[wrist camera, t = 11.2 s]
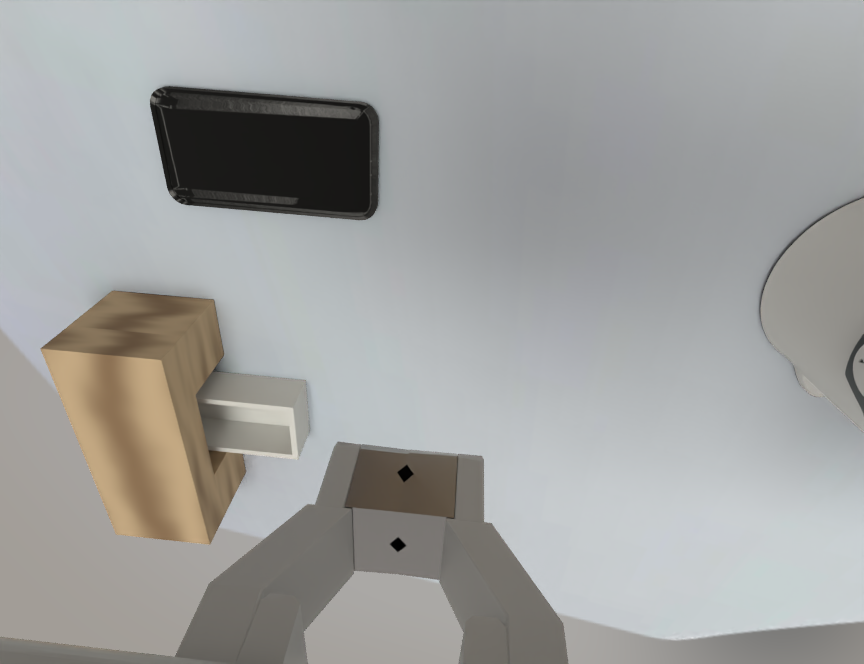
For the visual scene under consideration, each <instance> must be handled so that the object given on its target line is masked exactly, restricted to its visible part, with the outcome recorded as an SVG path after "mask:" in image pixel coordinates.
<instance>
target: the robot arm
mask: <svg viewBox="0 0 864 664" xmlns="http://www.w3.org/2000/svg"><path fill="white" fill-rule="evenodd" d="M761 322H762V326H763V329H764V332H765V334H766V336H767V338H768V340H769V341H770V343H771V344H772V345H773V347H774V348H775V349H776V350H777V351H778V352H780V353H781V354H782V355H783V356H784V357H786V358H787V359H788V360H789V361H790V362H791V363H792V364H793V366H794V368H795V372H796V376H797V379H798V381H799V383H800V385H801V386H802V388H803V389H805V390H806V391H807V392H808V393H809V394H810V395H812V396H815V397H826V398H827V399H828V400H829V401H830V402H831V403H832V404H833V405H834V406H835V407H836V408H838V409H839V410H840V411H841V412H842V413H843V414H844V415H845V416H846V417H847V418H848V419H849V420H850V421H851V422H853V423H854V424H855V425H856V426H857V427H858V428H859V429H860V430H861V431H862V432H863V433H864V198H862V199H860V200H857V201H855V202H853V203H850V204H848V205H846V206H844V207H842V208H840V209H838V210H836V211H835V212H833V213H831V214H829V215H828V216H826V217H825V218H823V219H822V220H820V221H819V222H817V223H816V224H814V225H813V226H812V227H811V228H809V229H808V230H807V231H806V232H804V233H803V234H802V235H801V236H800V237H799V238H798V239H797V240H796V241H795V242H794V243H793V244H792V245H791V246H790V247H789V248H788V249H787V251H786V252H785V253H784V254H783V255H782V257H781V258H780V259H779V261H778V262H777V264H776V265H775V267H774V269H773V270H772V272H771V274H770V276H769V278H768V280H767V283H766V285H765V288H764V292H763V295H762V300H761ZM354 571H366V572H378V573H390V574H400V575H407V576H415V577H422V578H430V579H437V580H440V584H441V586H442V588H443V590H444V592H445V594H446V597H447V599H448V601H449V603H450V605H451V607H452V609H453V611H454V613H455V615H456V617H457V620H458V622H459V624H460V626H461V628H462V630H463V632H464V634H463V640H462V646H461V652H460V658H459V664H568V657H567V649H566V641H565V633H564V626H563V623H562V621H561V620H560V618H559V617H558V616H557V614H556V613H555V611H554V610H553V609H552V607H551V606H550V604H549V603H548V602H547V600H546V599H545V597H544V596H543V595H542V593H541V592H540V590H539V589H538V588H537V586H536V585H535V583H534V582H533V581H532V579H531V578H530V576H529V575H528V574H527V572H526V571H525V569H524V568H523V567H522V565H521V564H520V562H519V561H518V560H517V558H516V557H515V555H514V554H513V553H512V551H511V550H510V548H509V547H508V546H507V544H506V543H505V541H504V540H503V539H502V537H501V536H500V534H499V533H498V532H497V530H496V529H495V527H494V526H493V525H492V523H486V522H484V459H483V457H482V456H476V455H465V454H458V456H457V454H453V453H442V452H431V451H420V450H405V449H397V448H389V447H381V446H373V445H365V444H362V445H361V444H353V443H345V442H337V444H336V445H335V446H334V449H333V452H332V455H331V458H330V461H329V464H328V467H327V470H326V473H325V476H324V479H323V482H322V485H321V488H320V491H319V494H318V497H317V500H316V503H315V505H312V504H307V505H306V506H305V507H304V508H302V509H301V510H300V511H299V512H297V513H296V514H295V515H294V516H292V517H291V518H290V519H289V520H287V521H286V522H285V523H284V524H282V525H281V526H280V527H279V528H278V529H276V530H275V531H274V532H273V533H271V534H270V535H269V536H268V537H266V538H265V539H264V540H263V541H261V542H260V543H259V544H258V545H256V546H255V547H254V548H253V549H251V550H250V551H249V552H248V553H247V554H245V555H244V556H243V557H242V558H240V559H239V560H238V561H237V562H235V563H234V564H233V565H232V566H230V567H229V568H228V569H227V570H225V571H224V572H223V573H222V574H220V575H219V576H218V577H217V578H216V579H214V580H213V581H212V582H210V584H209V585H208V587H207V589H206V591H205V593H204V596H203V598H202V600H201V602H200V604H199V606H198V608H197V611H196V613H195V615H194V617H193V619H192V621H191V623H190V625H189V627H188V630H187V632H186V634H185V636H184V638H183V640H182V642H181V645H180V647H179V649H178V651H177V653H176V655H175V657H172V656H163V655H154V654H145V653H136V652H127V651H119V650H110V649H102V648H101V649H100V648H93V647H85V646H76V645H67V644H58V643H50V642H40V641H32V640H24V639H14V638H5V637H0V664H308V662H307V654H306V647H305V638H304V631H305V629H307V627H308V626H309V625H310V624H311V623H312V622H313V620H314V619H315V618H316V617H317V616H318V614H319V613H320V612H321V611H322V610H323V609H324V608H325V607H326V605H327V604H328V603H329V602H330V601H331V600H332V598H333V597H334V596H335V595H336V594H337V592H338V591H339V590H340V589H341V588H342V586H343V585H344V584H345V583H346V582H347V581H348V580H349V579H350V577H351V576H352V575H353V574H354Z"/></svg>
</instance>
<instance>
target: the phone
mask: <svg viewBox="0 0 864 664" xmlns="http://www.w3.org/2000/svg"><path fill="white" fill-rule="evenodd" d="M150 107H151V112H152V116H153V121H154V126H155V131H156V136H157V140H158V145H159V150H160V155H161V160H162V164H163V169H164V174H165V179H166V184H167V188H168V191H169V193H170V195H171V196H172V197H173V198H174V199H175V200H176V201H177V202H179V203H181V204H185V205H194V206H205V207H217V208H228V209H239V210H251V211H262V212H273V213H285V214H296V215H307V216H319V217H330V218H342V219H353V220H366V219H368V218H370V217H371V216H372V215H373V214H374V213H375V211H376V209H377V206H378V196H377V195H378V152H379V121H378V115H377V113H376V111H375V110H374V109H373V107H372V106H370V105H369V104H367V103H364V102H357V101H345V100H332V99H320V98H307V97H295V96H283V95H270V94H258V93H245V92H233V91H221V90H208V89H196V88H183V87H171V86H169V87H163V88H160V89H157V90H156V91H154V92H153V94H152V95H151V98H150Z"/></svg>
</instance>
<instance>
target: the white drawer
mask: <svg viewBox="0 0 864 664" xmlns="http://www.w3.org/2000/svg"><path fill="white" fill-rule="evenodd" d="M196 399H197V403H198V408H199V412H200V416H201V421H202V425H203V429H204V433H205V438H206V442H207V446H208V450H212V451H221V452H231V453H240V454H250V455H259V456H269V457H278V458H288V459H297V460H298V459H299V457H300V454H301V452H302V449H303V447H304V444H305V442H306V439H307V437H308V434H309V432H310V426H309V414H308V402H307V390H306V380H297V379H287V378H277V377H266V376H256V375H246V374H236V373H226V372H216V371H212V373H211V374H210V375H209V377H208V378H207V380H206V381H205V383H204V384H203V385H202V387H201V388H200V390H199V391H198V392H197V394H196Z"/></svg>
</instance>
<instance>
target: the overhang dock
mask: <svg viewBox="0 0 864 664" xmlns="http://www.w3.org/2000/svg"><path fill="white" fill-rule="evenodd" d="M41 351H42V354H43V356H44V358H45V361H46V363H47V366H48V368H49V371H50V373H51V376H52V378H53V381H54V383H55V385H56V388H57V390H58V393H59V395H60V398H61V400H62V403H63V405H64V407H65V410H66V412H67V415H68V417H69V420H70V422H71V425H72V427H73V429H74V432H75V434H76V437H77V439H78V442H79V444H80V447H81V449H82V451H83V454H84V457H85V459H86V461H87V464H88V466H89V469H90V471H91V474H92V476H93V479H94V481H95V484H96V486H97V489H98V491H99V493H100V496H101V498H102V501H103V503H104V506H105V508H106V510H107V513H108V516H109V518H110V520H111V523H112V525H113V528H114V530H115V533H116V534H117V535H127V536H136V537H145V538H154V539H163V540H173V541H182V542H191V543H201V544H210V543H211V542H212V539H213V537H214V535H215V533H216V531H217V529H218V527H219V525H220V523H221V521H222V519H223V517H224V515H225V513H226V511H227V509H228V507H229V505H230V503H231V501H232V499H233V497H234V495H235V493H236V491H237V489H238V487H239V485H240V483H241V481H242V479H243V477H244V475H245V473H246V470H245V465H244V459H243V454H240V453H231V452H221V451H212V450H208V446H207V442H206V438H205V433H204V429H203V425H202V421H201V416H200V412H199V408H198V403H197V399H196V394H197V392H198V391H199V390H200V388H201V387H202V385H203V384H204V383H205V381H206V380H207V378H208V377H209V375H210V374H211V373H212V371H213V370H214V368H215V367H216V366H217V364H218V363H219V361H220V360H221V359H222V357H223V356H224V352H223V347H222V341H221V336H220V331H219V325H218V320H217V315H216V309H215V304H214V300H210V299H199V298H187V297H176V296H165V295H154V294H143V293H131V292H120V291H111V292H110V293H109V294H108V295H106V296H105V297H104V298H103V299H102V300H100V301H99V302H98V303H97V304H95V305H94V306H93V307H92V308H90V309H89V310H88V311H87V312H85V313H84V314H83V315H82V316H80V317H79V318H78V319H77V320H75V321H74V322H73V323H72V324H71V325H69V326H68V327H67V328H66V329H64V330H63V331H62V332H61V333H59V334H58V335H57V336H56V337H54V338H53V339H52V340H51V341H49V342H48V343H47V344H46V345H45V346H43V347H42V348H41Z"/></svg>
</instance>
